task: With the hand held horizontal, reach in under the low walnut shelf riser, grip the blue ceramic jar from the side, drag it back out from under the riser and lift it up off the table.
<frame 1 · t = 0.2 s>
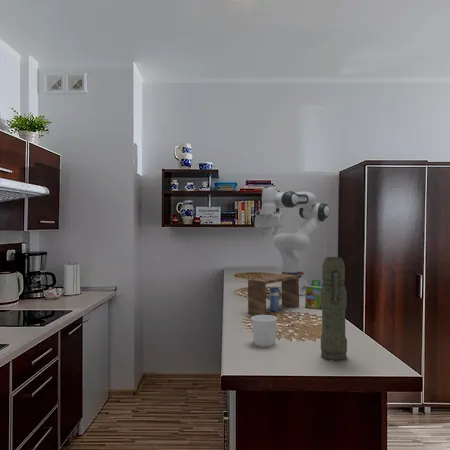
hand: (268, 235, 236), 39 cm above the table, tool pointing down, fingers open, 8 cm apart
cup: (264, 343, 153), on the table
thermos: (333, 357, 137), on the table
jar: (274, 310, 207), on the table
chalk box: (315, 307, 214), on the table
riser: (274, 310, 207), on the table
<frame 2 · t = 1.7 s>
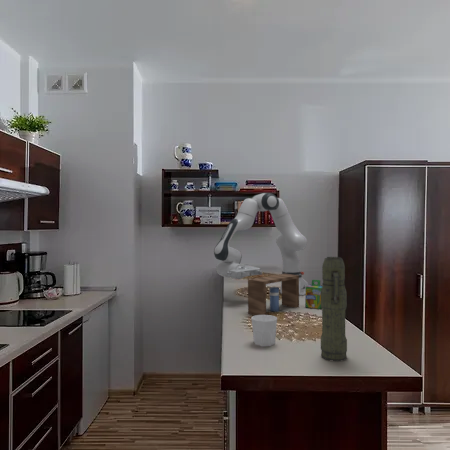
hand: (255, 273, 216), 18 cm above the table, tool horizontal, fingers open, 8 cm apart
nothing on the table moved.
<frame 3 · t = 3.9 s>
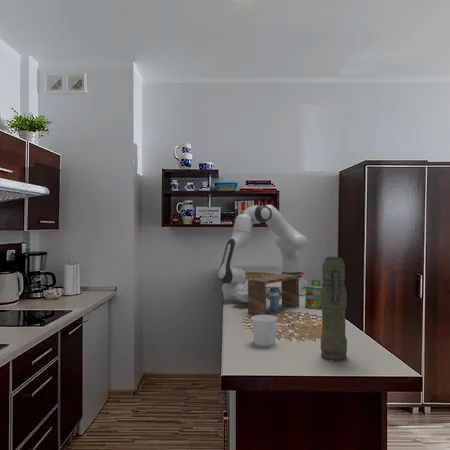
hand: (262, 296, 213), 6 cm above the table, tool horizontal, fingers open, 8 cm apart
nothing on the table moved.
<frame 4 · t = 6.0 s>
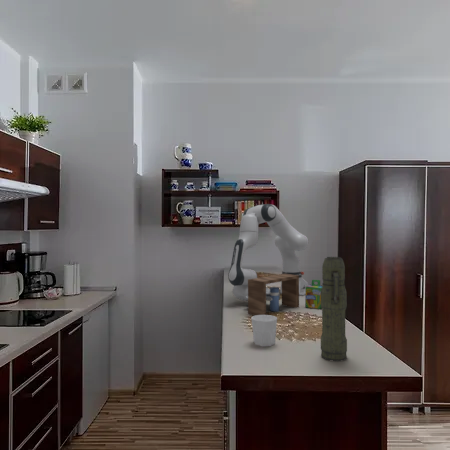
hand: (275, 298, 206), 7 cm above the table, tool horizontal, fingers closed on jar, 5 cm apart
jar: (274, 310, 207), on the table, touching gripper
everything else where it was.
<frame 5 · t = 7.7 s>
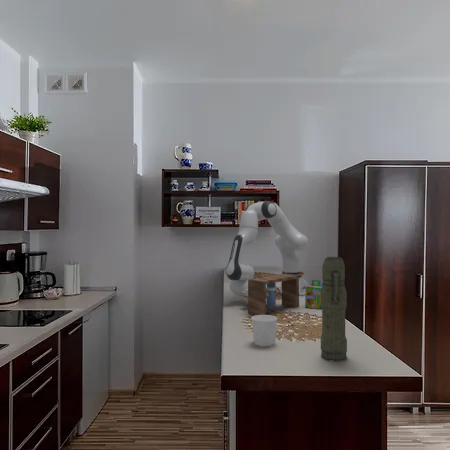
hand: (272, 293, 208), 9 cm above the table, tool horizontal, fingers closed on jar, 5 cm apart
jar: (271, 305, 209), point 2 cm above the table, touching gripper
everything else where it was.
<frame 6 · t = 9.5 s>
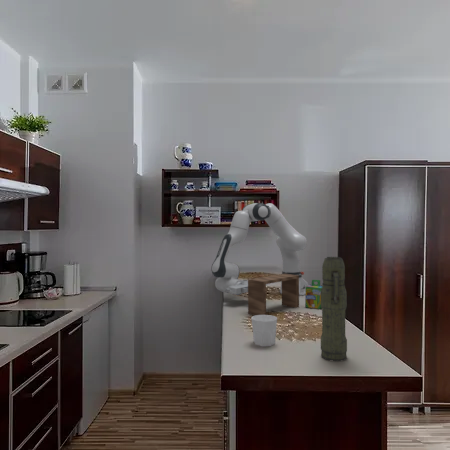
hand: (254, 290, 217), 9 cm above the table, tool horizontal, fingers closed on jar, 5 cm apart
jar: (253, 301, 218), point 2 cm above the table, touching gripper
everything else where it was.
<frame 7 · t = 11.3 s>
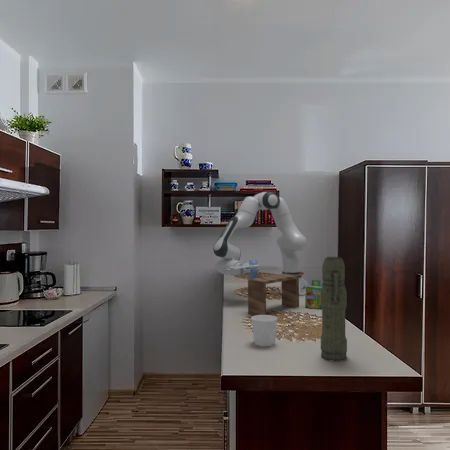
hand: (254, 270, 217), 20 cm above the table, tool horizontal, fingers closed on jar, 5 cm apart
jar: (253, 282, 218), point 13 cm above the table, touching gripper
everything else where it was.
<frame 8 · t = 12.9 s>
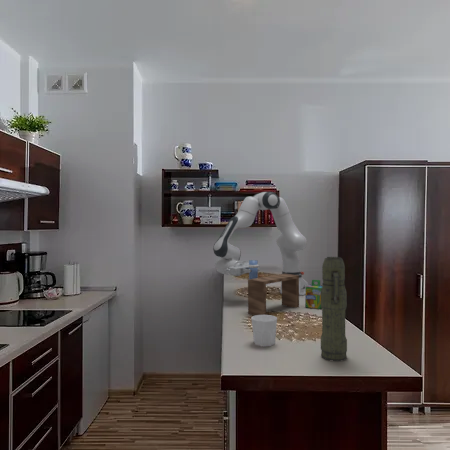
hand: (254, 270, 217), 20 cm above the table, tool horizontal, fingers closed on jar, 5 cm apart
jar: (253, 281, 218), point 13 cm above the table, touching gripper
everything else where it was.
at the end: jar inside the target area (0.5 cm from its centre), point 13.4 cm above the table; the gripper is holding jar; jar tilted 0° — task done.
